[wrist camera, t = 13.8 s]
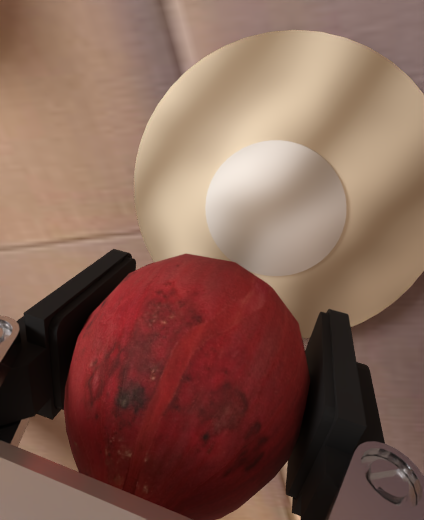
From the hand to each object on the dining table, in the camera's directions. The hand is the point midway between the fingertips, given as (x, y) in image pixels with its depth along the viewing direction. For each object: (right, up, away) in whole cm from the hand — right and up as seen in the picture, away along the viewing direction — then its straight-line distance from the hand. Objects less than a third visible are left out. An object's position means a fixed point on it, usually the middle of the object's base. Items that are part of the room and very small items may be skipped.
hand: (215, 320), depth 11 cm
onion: (0, +1, +1) cm, 2 cm away
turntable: (+4, +6, +13) cm, 15 cm away
